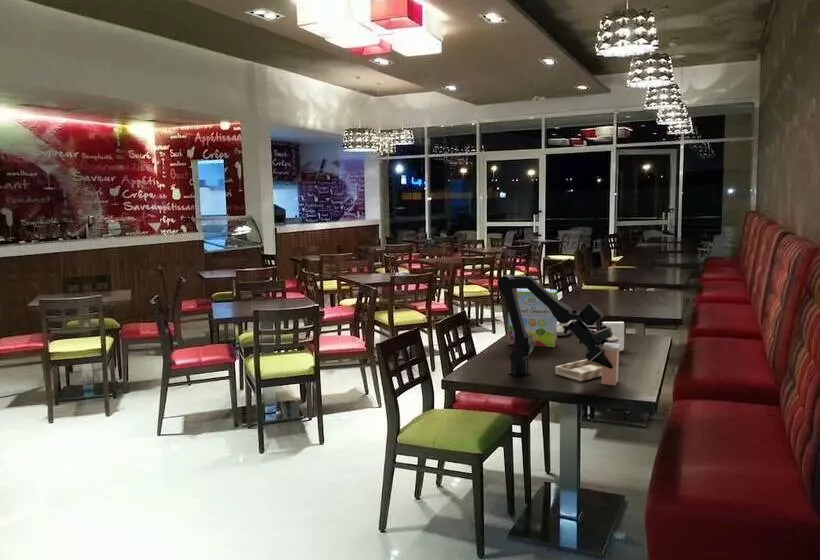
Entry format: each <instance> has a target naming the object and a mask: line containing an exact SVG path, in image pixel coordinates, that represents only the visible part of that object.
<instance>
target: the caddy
mask: <svg viewBox="0 0 820 560" xmlns="http://www.w3.org/2000/svg"><path fill="white" fill-rule="evenodd" d="M602 348H603V350H605V356H606V357H607V359H608V360H609V362H610V363H611V364H612V366H613V368H612V369H610V368H608V367H605V366H603V365H602V376H601V384H602V385H606V386H607V385H609V386H610V385H611V386H616V385H617V383H618V381H619V363H620V362H619V361H620V359H619V358H620V351H619V348H620V344H615V343H604V344H603V346H602Z"/></svg>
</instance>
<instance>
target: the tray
mask: <svg viewBox="0 0 820 560" xmlns="http://www.w3.org/2000/svg"><path fill="white" fill-rule="evenodd" d="M554 370H555V371H554V372H555V375H558V376H561V377H565V378H568V379H571V380H575V381H579V382H584V381H587V380H591V379H595V378H598V377H602V365H600V364H598V363H595V362H592V361H588V360H587V359H581V360H576V361H572V362H568V363H565V364H560V365H556V366H555V369H554Z"/></svg>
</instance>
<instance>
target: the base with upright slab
mask: <svg viewBox="0 0 820 560" xmlns="http://www.w3.org/2000/svg"><path fill="white" fill-rule="evenodd" d="M604 325H606V326H607V327H610V328H611V331H612V333H613V336H615V337H617V338H618V344H620V348H619V352H622V351H624V350H625V322H624V321H603V322H602V326H604Z"/></svg>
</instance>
